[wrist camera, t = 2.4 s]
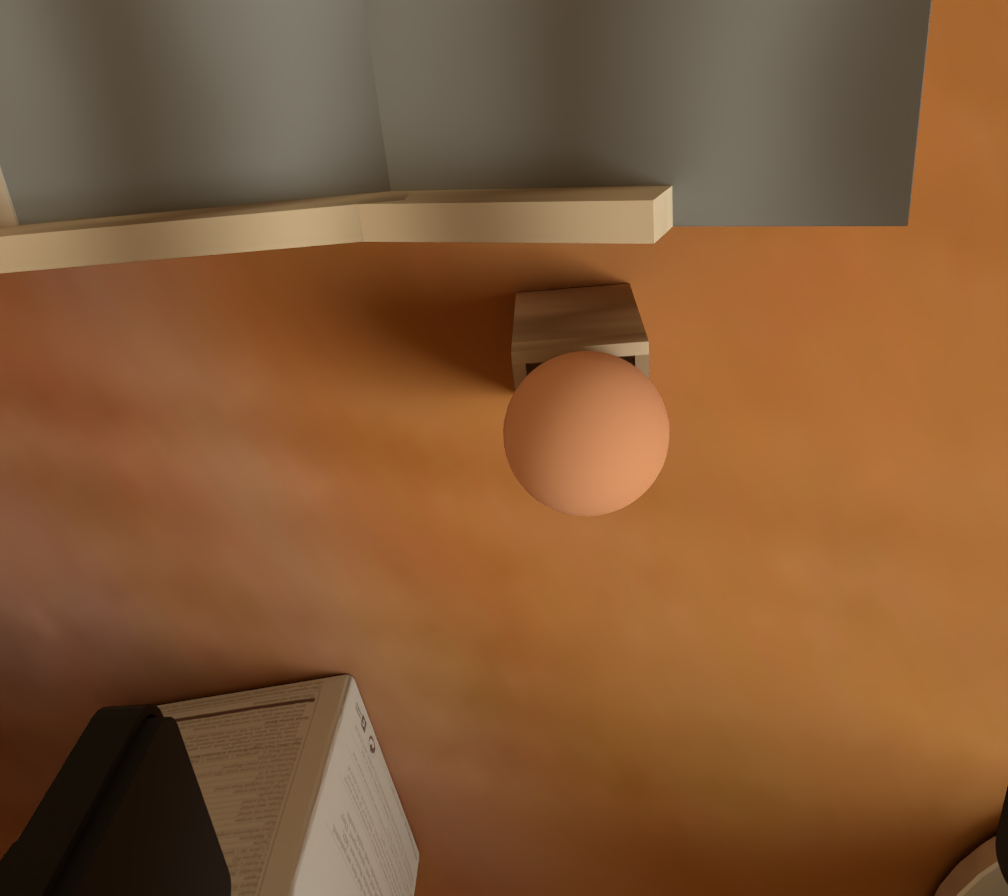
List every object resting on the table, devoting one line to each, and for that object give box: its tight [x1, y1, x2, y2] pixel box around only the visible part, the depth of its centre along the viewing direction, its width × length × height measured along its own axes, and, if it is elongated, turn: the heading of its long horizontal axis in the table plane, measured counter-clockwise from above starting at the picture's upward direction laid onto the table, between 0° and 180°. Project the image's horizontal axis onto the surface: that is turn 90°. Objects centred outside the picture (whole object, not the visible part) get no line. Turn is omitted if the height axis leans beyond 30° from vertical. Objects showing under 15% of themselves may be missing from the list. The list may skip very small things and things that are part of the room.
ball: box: [503, 351, 670, 516], centre depth 19 cm, size 4×4×4 cm
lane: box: [0, 0, 932, 273], centre depth 18 cm, size 31×10×6 cm, turn 95°
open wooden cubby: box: [511, 284, 650, 391], centre depth 22 cm, size 3×3×5 cm
